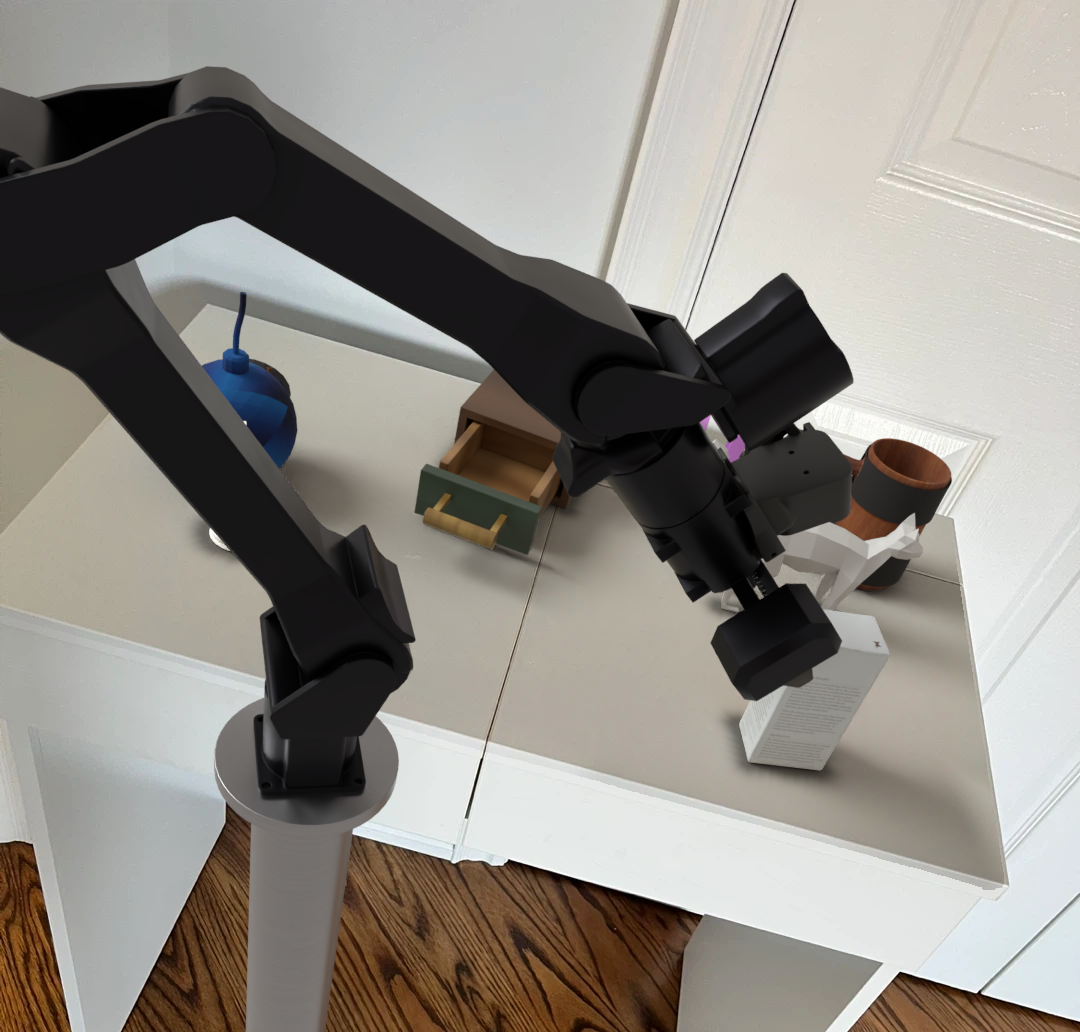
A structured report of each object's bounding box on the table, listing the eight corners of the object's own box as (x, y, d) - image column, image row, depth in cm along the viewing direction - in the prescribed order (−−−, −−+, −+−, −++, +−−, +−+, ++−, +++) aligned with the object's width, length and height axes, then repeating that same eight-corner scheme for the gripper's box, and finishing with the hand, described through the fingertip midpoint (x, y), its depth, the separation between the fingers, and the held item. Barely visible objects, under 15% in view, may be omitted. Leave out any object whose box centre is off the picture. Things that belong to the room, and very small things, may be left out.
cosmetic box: (808, 731, 79) (877, 615, 70) (821, 773, 76) (894, 656, 68) (735, 722, 78) (796, 602, 69) (745, 763, 75) (809, 643, 66)
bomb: (310, 452, 91) (321, 288, 80) (275, 519, 83) (282, 346, 73) (201, 426, 90) (198, 256, 80) (156, 490, 82) (145, 311, 72)
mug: (782, 517, 101) (830, 411, 93) (897, 556, 100) (956, 453, 92) (774, 563, 94) (825, 454, 86) (897, 605, 94) (960, 500, 86)
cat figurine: (875, 650, 88) (955, 516, 79) (654, 593, 87) (709, 450, 77) (869, 618, 92) (946, 486, 82) (657, 563, 90) (709, 422, 81)
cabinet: (565, 509, 93) (582, 451, 89) (449, 465, 94) (460, 406, 90) (604, 445, 103) (620, 390, 99) (498, 406, 104) (510, 350, 100)
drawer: (510, 582, 82) (521, 539, 79) (393, 538, 83) (399, 493, 80) (569, 487, 94) (580, 446, 91) (466, 448, 95) (474, 407, 92)
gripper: (888, 502, 48) (961, 666, 59) (739, 316, 60) (823, 482, 71) (686, 629, 51) (793, 762, 62) (583, 428, 63) (687, 570, 74)
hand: (776, 633), depth 67 cm, fingers open, 9 cm apart
